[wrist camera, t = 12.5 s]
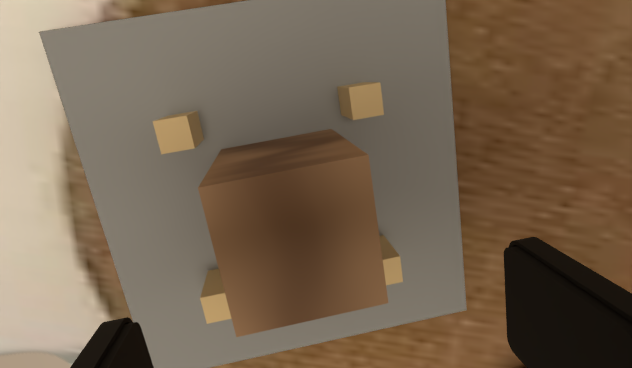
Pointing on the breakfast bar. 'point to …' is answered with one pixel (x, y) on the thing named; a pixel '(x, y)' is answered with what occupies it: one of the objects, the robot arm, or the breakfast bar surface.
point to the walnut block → (294, 230)
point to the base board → (257, 126)
